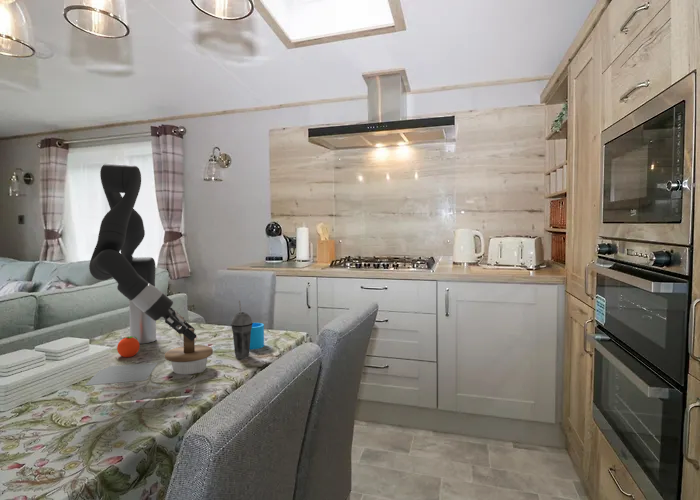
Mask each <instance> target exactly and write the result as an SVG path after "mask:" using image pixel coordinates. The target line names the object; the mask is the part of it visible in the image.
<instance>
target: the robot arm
mask: <svg viewBox="0 0 700 500" xmlns="http://www.w3.org/2000/svg"><path fill="white" fill-rule="evenodd" d="M99 173H100V175H99V176H100V181H101V186H102V189H103V192H104V194H105V198H106V200H107V203H108V206H109V208H110V209H109V211H107V213H106V214H105V215H104V216H103V218H102V220H101V223H100V226H99V231H98V235H97V236H98V237H97V241H96V245H95V246H94V249H93V252H92V254H91V257H90V261H89V265H88V269H89V273H90V275H91V276H92V277H93V278H94V279H96V280H98V281H107V280H111V278H113V279H114V280H115V282H116V283H117V286H116V287H117V291H118V292H120V294H122V295H123V296H124V297H125V298H127V299H128V305H129V309H128V311H129V337H133V338H135V337H136V338H137V339H138V342H139V344H140V345H141V344H148V343H152V342H154V341H157V321H158V320H159V319H161V318H164V322H165V324H167V325H168V326H169V327H170V328H172V329H173V330H174V331H176V332H177V333H178V334H180V335H182V336H183V335H185V336H186V337H187V338H188V339H190V340H191V341H193V340H194V341H195V339H197V334H196V333H195V331H196V330H195V327H193V326H192V325H191V324H189V322H188V321H187V320H186V319H185V317H183V316H182V314H179V313H178V311H176V310H175V309H174V308H172V306H173V305H174V301H173V300H172V299H171V298H169V297H168V296H167V295H166V294H165V293H163V292H162V291H161V290H159V289H158V287H156V262H155V259H154V258H153V257H150V256H147V257H143V256H141V257H138V256H137V257H134V256H133V255H134V252H135V251H136V250H137V248H138V247H139V246H140V245H141V243H142V242H143V240H144V238H145V235H146V233H145V232H146V231H145V226H144V220H143V218H142V216H141V214H140V213H139V212H138V211H136V209H134V207H135V205H136V202H137V199H138V196H139V193H140V189H141V186H142V173H141V169H140V168H139V166H137V165H133V164H122V163H121V164H119V163H105V164H103V165H101V167H100V172H99ZM122 194H123V196H122ZM190 328H192V329H194V332H192V331H191V330H190ZM136 338H135V339H136Z"/></svg>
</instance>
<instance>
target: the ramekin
mask: <svg viewBox="0 0 700 500" xmlns="http://www.w3.org/2000/svg"><path fill="white" fill-rule="evenodd" d="M170 362H171V368H172V372H174V374H177V375H192V374H197V373H198V374H201V373H202V372H204V371H205V369H206V368H207V364H208V357H207V358H204V359H201V360H197V361H190V362H172V361H170Z"/></svg>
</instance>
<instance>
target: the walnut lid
mask: <svg viewBox="0 0 700 500" xmlns="http://www.w3.org/2000/svg"><path fill="white" fill-rule="evenodd" d="M194 329H195V328H194ZM194 329H192V328H190V330H191V331H192V332H194V333H195V330H194ZM182 336H183V346H177V347H175V348H171V349H169V350H166V352H165V353H164V359H165V360H166V361H168V362H171V361H172V362H190V361H197V360H201V359H204V358H207V359H208V358H209V357H211V356H212V355H213V354H214V353H213V348H212V347H211V346H208V345H204V344H203V345H202V344H201V345H199V344H197V345H195V339H194V340H193V341H191V340H190V339H188V338H187V337H186V336H185V335H183V334H182ZM172 362H171V363H172Z"/></svg>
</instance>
